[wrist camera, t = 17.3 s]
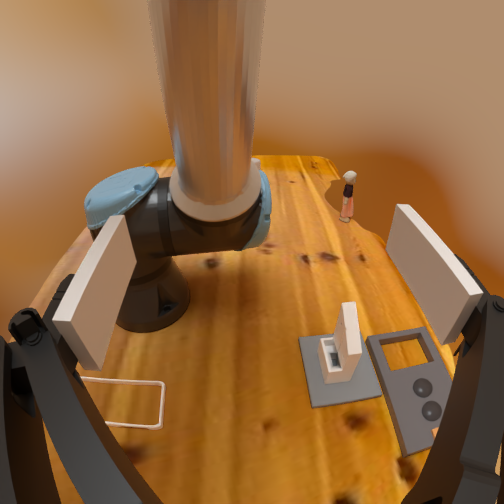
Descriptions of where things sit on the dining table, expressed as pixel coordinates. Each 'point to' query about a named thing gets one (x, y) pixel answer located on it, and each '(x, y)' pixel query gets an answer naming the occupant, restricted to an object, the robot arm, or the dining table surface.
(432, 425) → the grey control panel
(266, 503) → the dining table surface
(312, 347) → the rubber mat
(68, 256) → the dining table surface
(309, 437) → the dining table surface
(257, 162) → the usb wall charger
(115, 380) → the phone case
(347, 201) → the grandmother figurine
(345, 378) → the white wedge bracket
